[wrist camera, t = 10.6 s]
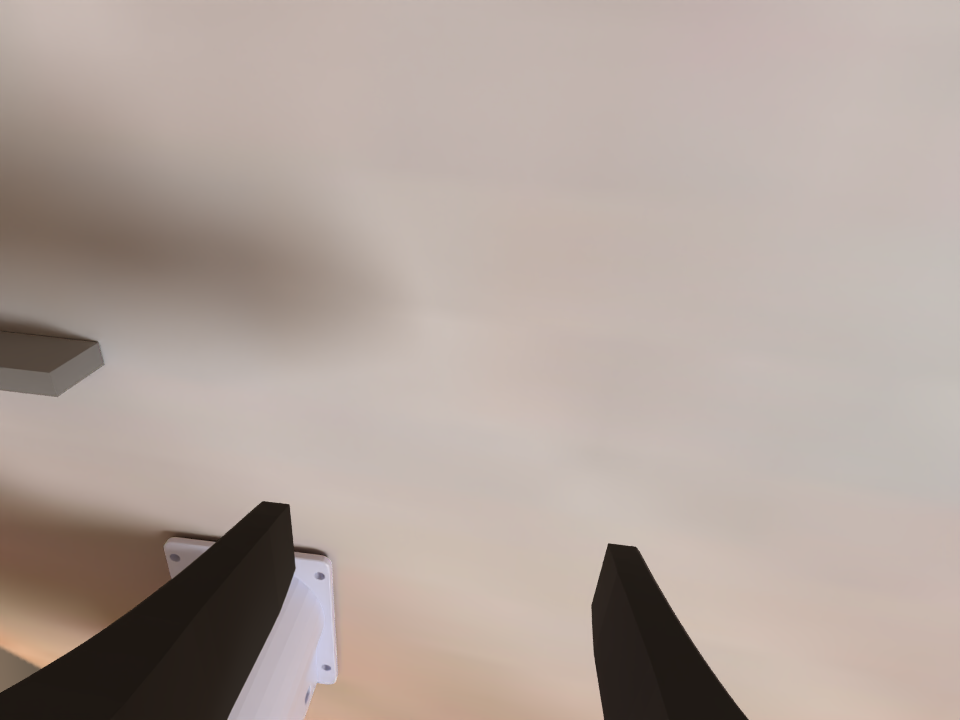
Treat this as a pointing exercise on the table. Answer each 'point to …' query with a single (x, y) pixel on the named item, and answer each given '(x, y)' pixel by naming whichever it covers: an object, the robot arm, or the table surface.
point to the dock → (45, 363)
